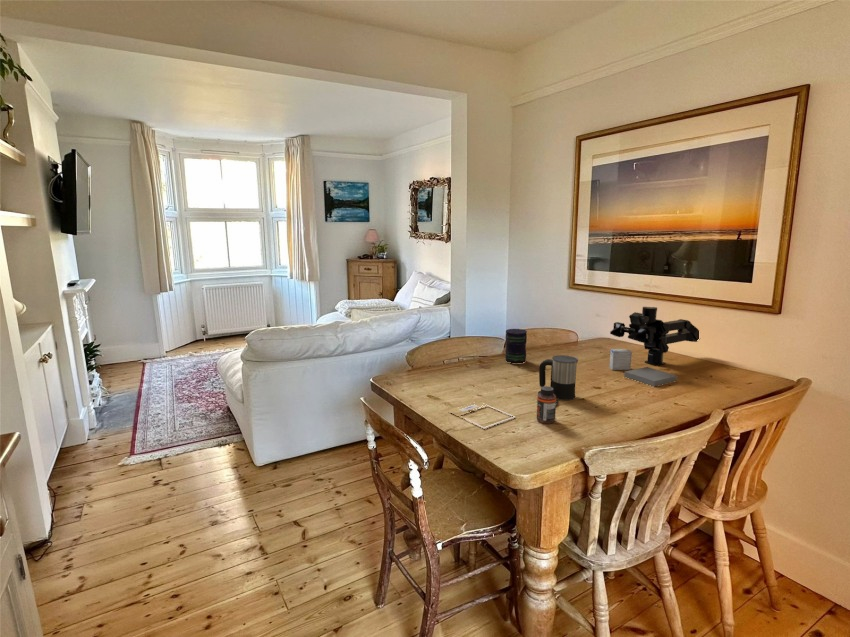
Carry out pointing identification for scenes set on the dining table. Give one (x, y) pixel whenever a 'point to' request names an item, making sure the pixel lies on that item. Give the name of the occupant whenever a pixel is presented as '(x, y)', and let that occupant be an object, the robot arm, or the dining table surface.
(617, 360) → the medicine box
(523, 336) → the storage jar
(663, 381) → the riser block
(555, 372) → the milk frother
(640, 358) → the dining table surface
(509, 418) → the photo frame
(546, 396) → the supplement bottle
